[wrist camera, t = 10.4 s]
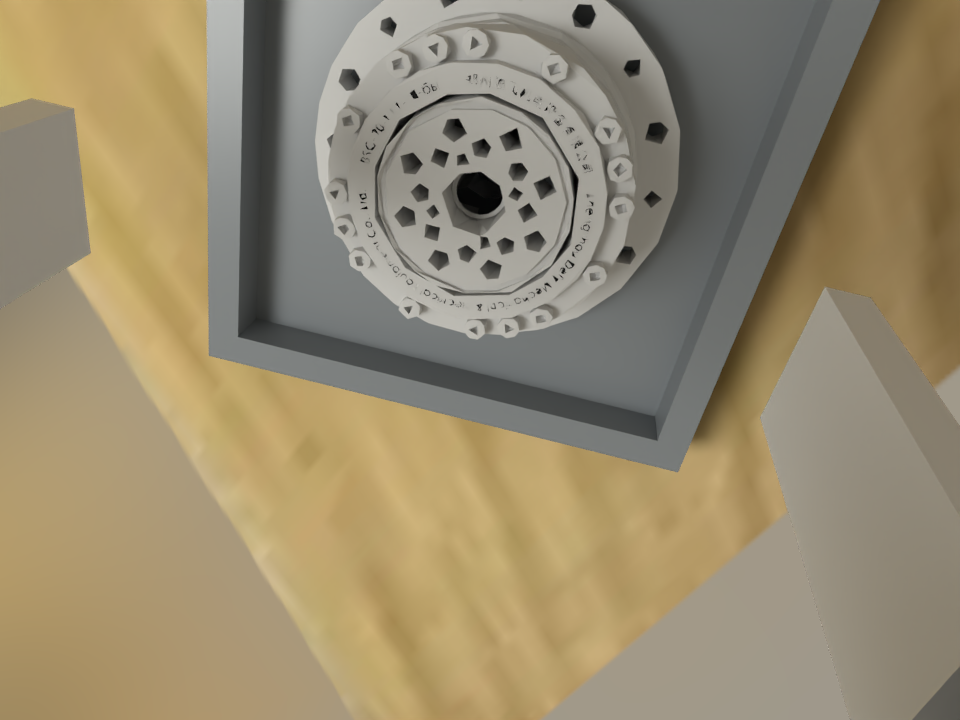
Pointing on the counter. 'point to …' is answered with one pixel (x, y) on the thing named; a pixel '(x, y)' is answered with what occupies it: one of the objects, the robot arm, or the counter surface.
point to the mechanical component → (496, 158)
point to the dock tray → (610, 324)
